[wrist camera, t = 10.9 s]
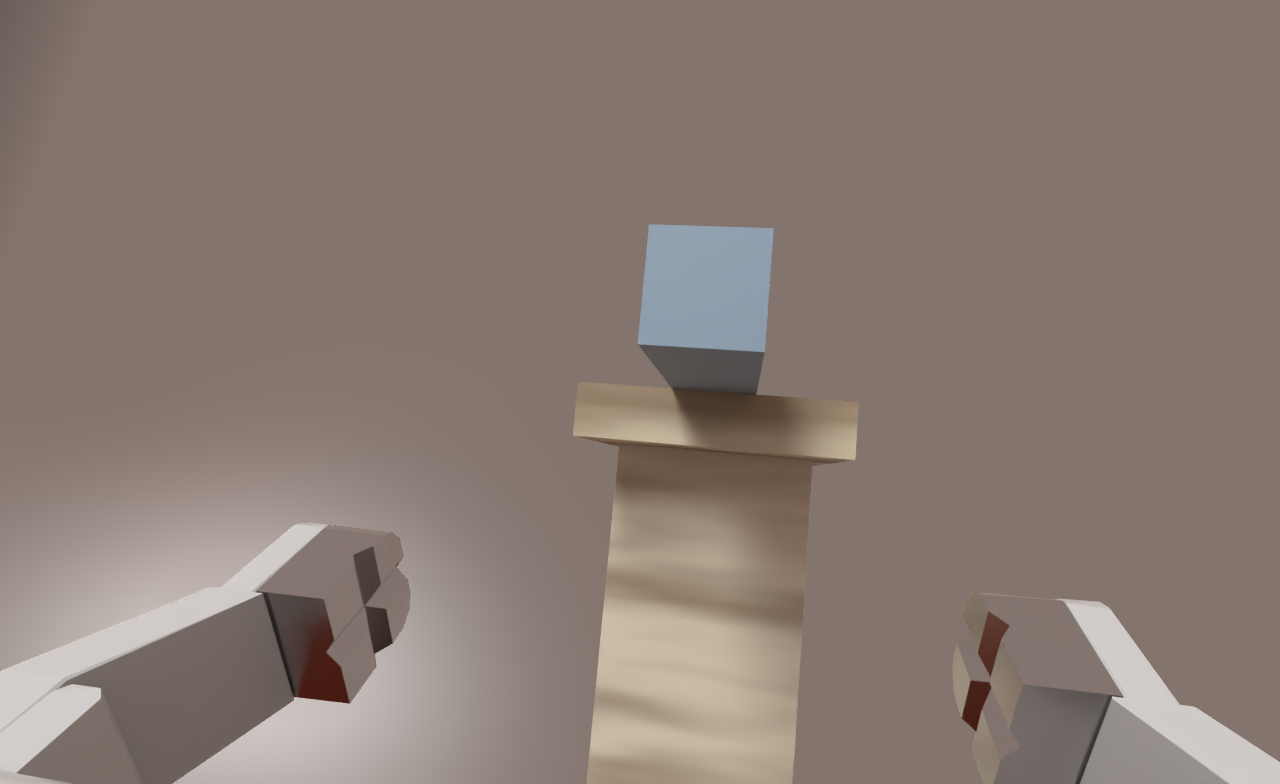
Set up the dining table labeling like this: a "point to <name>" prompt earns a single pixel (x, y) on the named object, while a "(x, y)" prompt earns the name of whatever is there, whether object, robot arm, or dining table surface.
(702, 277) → the block
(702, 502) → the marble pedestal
